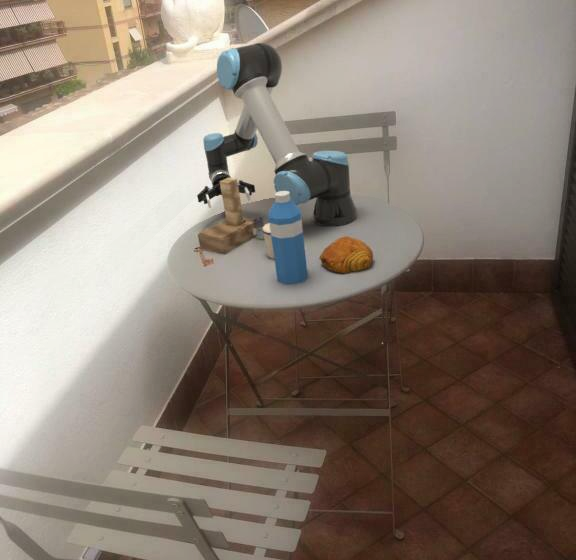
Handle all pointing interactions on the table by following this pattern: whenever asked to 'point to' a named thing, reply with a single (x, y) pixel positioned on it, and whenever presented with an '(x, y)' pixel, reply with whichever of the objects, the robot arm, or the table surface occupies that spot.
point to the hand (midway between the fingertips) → (229, 200)
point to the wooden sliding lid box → (225, 236)
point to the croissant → (346, 255)
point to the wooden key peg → (232, 201)
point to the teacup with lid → (268, 241)
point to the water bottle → (287, 240)
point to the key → (203, 257)
